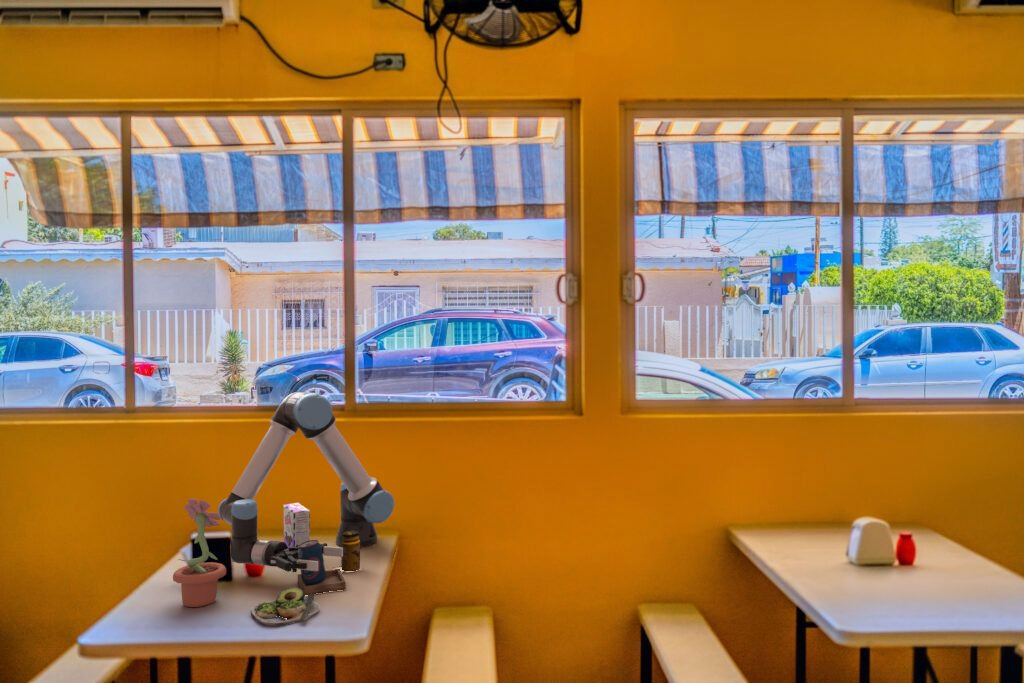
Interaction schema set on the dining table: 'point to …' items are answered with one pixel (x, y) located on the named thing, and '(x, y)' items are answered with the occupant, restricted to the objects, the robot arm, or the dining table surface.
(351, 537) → the condiment
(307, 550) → the soda can
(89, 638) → the dining table surface
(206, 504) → the decorative flower
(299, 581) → the walnut tray
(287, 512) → the candy box
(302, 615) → the avocado toast plate
